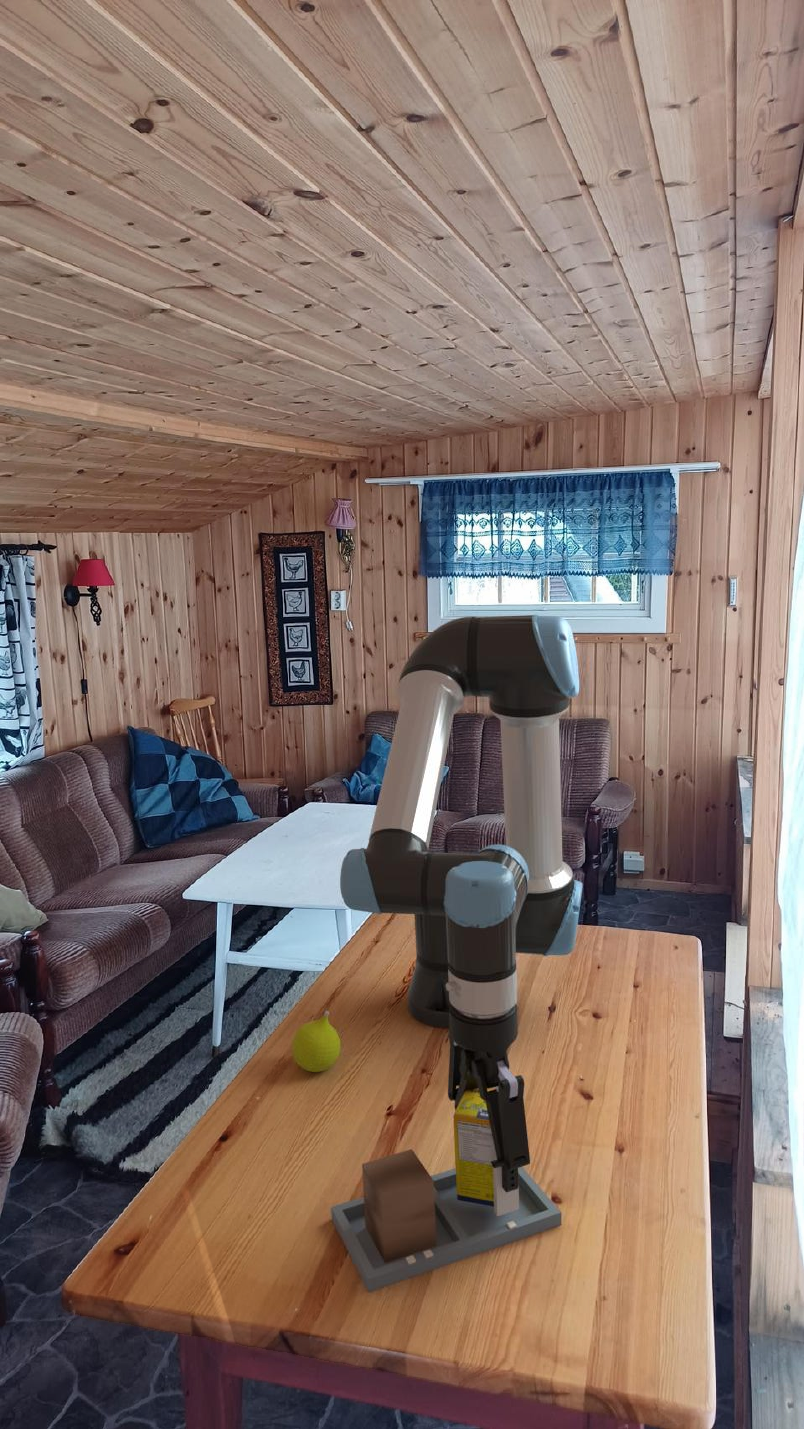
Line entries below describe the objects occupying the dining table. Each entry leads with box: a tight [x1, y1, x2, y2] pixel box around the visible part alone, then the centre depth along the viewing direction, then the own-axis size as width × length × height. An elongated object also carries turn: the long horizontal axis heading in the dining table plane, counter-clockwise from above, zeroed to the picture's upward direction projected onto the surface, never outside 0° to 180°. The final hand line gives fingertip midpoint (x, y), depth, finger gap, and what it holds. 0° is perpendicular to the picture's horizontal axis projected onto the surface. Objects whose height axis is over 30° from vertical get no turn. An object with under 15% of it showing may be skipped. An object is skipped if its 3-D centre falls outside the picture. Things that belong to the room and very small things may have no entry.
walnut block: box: [361, 1149, 436, 1263], centre depth 108 cm, size 6×6×8 cm
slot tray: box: [330, 1166, 562, 1293], centre depth 110 cm, size 12×23×2 cm, turn 112°
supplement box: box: [453, 1088, 519, 1207], centre depth 111 cm, size 6×6×11 cm
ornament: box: [291, 1008, 342, 1073], centre depth 143 cm, size 7×7×10 cm
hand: (488, 1186), depth 112 cm, fingers closed on supplement box, 8 cm apart
